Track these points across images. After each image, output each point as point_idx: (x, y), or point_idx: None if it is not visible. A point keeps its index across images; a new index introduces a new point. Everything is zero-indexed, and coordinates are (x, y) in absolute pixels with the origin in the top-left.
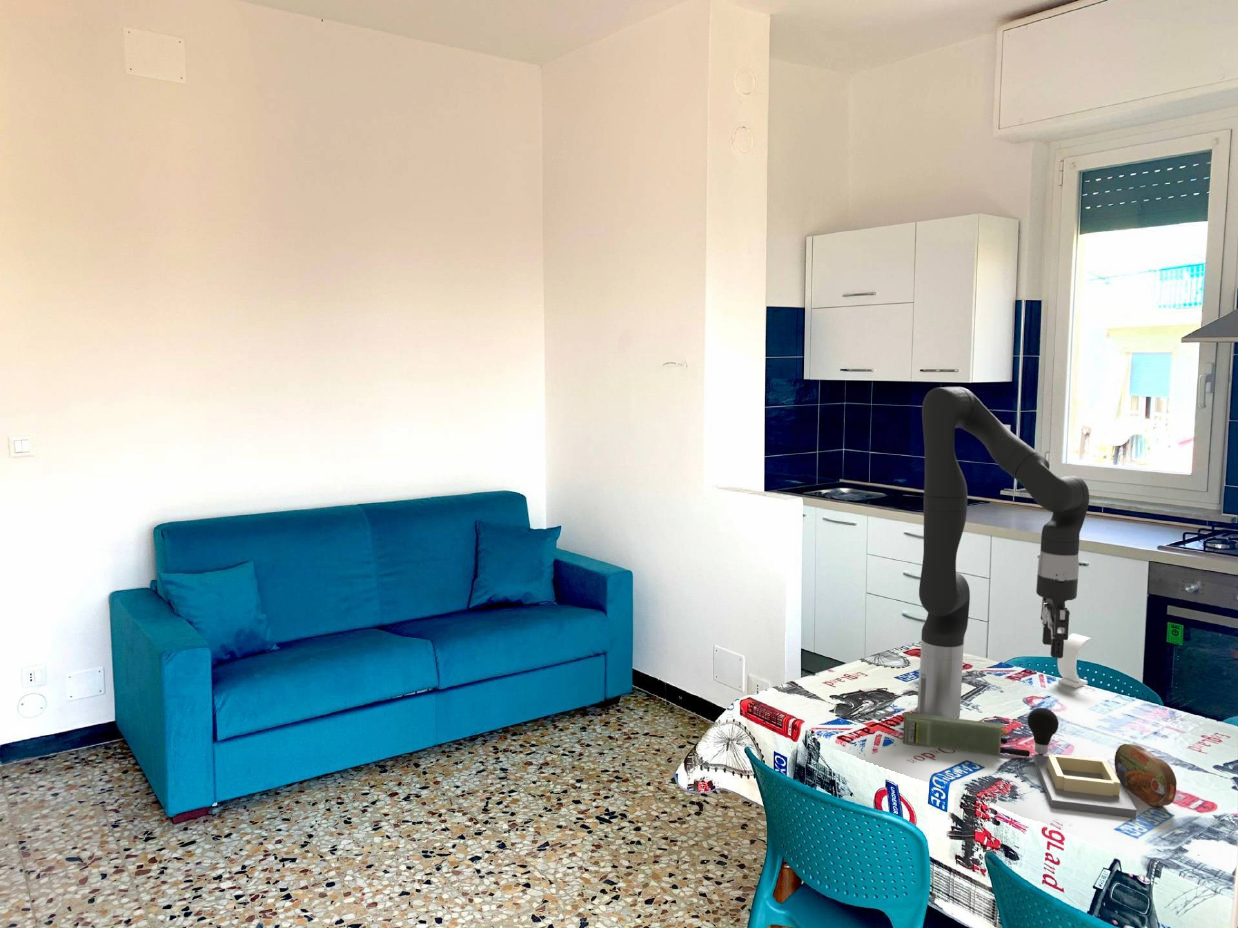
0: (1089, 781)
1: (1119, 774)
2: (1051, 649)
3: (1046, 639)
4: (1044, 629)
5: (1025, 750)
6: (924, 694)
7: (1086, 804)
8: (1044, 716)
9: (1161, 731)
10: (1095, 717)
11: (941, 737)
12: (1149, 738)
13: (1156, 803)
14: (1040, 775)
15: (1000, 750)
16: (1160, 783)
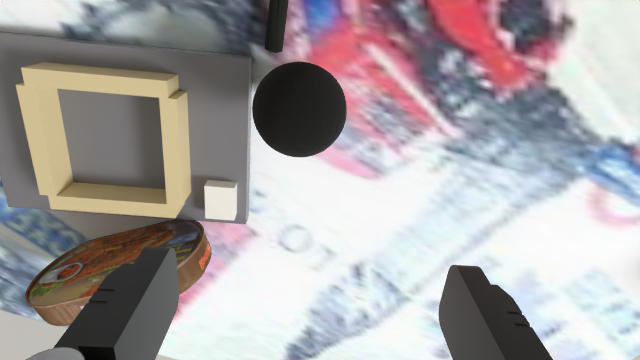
0: (29, 142)
1: (193, 226)
2: (124, 277)
3: (458, 302)
4: (498, 352)
5: (272, 40)
6: None
7: None
8: (262, 113)
9: None
10: (544, 269)
11: None
12: (429, 329)
13: (78, 251)
14: (146, 47)
15: None
16: (47, 282)
